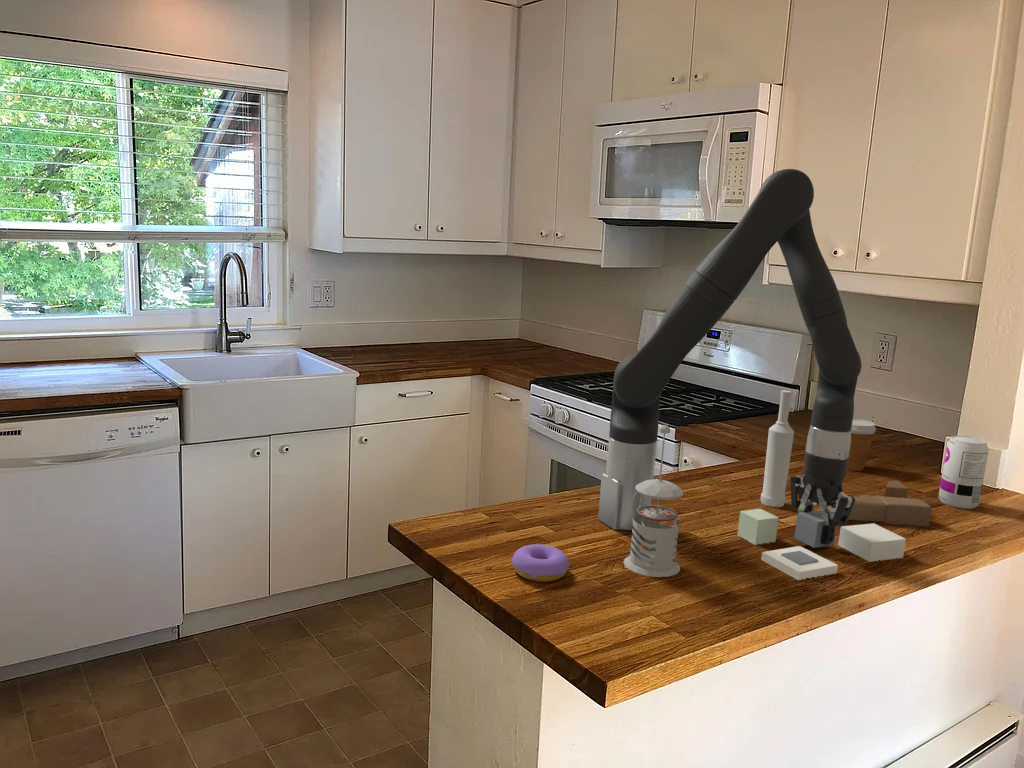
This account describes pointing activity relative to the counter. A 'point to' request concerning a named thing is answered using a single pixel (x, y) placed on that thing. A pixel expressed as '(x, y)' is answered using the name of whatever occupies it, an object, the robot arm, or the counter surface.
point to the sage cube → (758, 526)
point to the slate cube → (810, 528)
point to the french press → (655, 528)
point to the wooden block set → (891, 507)
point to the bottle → (778, 456)
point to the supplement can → (963, 472)
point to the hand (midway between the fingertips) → (814, 537)
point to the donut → (540, 563)
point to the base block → (872, 542)
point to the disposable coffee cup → (860, 443)
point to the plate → (799, 562)
